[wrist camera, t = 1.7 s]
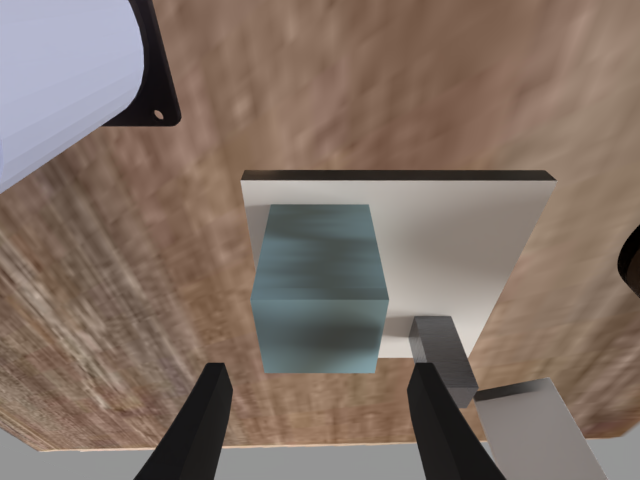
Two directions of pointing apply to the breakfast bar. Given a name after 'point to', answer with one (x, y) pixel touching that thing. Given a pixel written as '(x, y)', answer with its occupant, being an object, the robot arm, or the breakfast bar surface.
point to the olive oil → (631, 261)
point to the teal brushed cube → (319, 290)
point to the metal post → (444, 355)
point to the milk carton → (534, 433)
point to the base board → (422, 234)
